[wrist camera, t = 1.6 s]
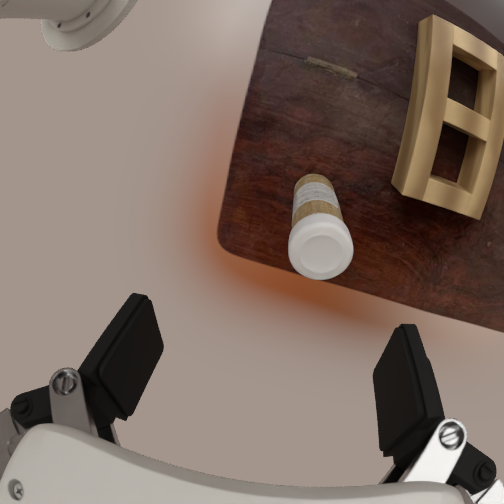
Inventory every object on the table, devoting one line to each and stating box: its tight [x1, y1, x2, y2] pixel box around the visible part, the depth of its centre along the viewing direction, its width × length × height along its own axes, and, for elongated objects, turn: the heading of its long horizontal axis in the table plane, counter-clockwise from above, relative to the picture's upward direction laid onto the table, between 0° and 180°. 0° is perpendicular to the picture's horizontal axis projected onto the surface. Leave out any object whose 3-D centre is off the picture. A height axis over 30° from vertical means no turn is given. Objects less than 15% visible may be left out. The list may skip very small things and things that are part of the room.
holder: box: [391, 15, 504, 220], centre depth 20 cm, size 11×20×4 cm, turn 173°
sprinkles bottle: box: [288, 174, 353, 280], centre depth 24 cm, size 5×5×14 cm
